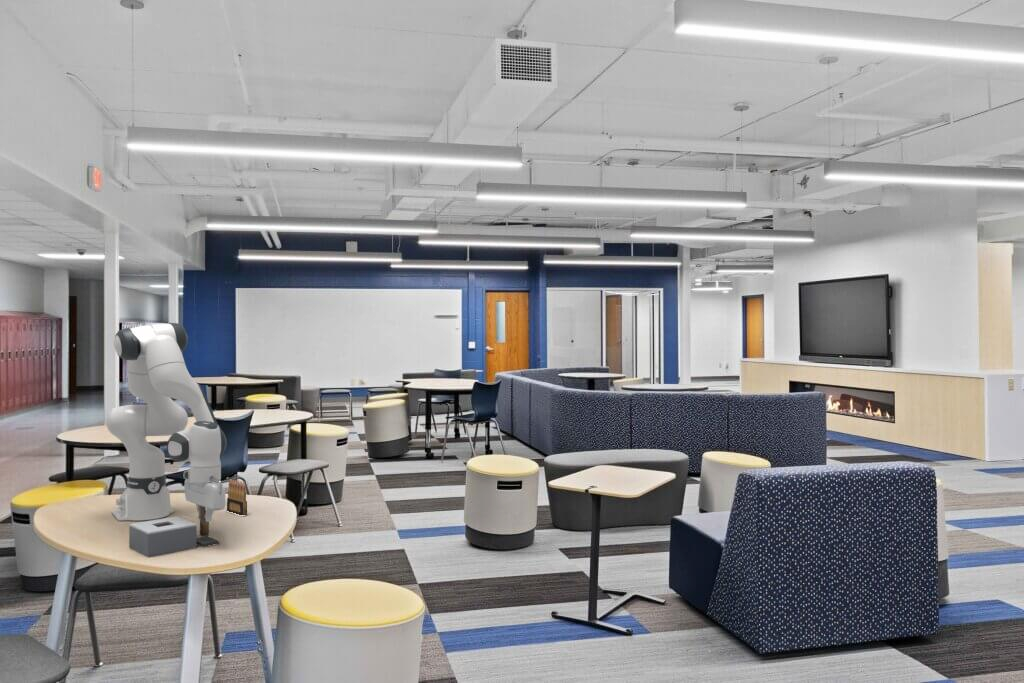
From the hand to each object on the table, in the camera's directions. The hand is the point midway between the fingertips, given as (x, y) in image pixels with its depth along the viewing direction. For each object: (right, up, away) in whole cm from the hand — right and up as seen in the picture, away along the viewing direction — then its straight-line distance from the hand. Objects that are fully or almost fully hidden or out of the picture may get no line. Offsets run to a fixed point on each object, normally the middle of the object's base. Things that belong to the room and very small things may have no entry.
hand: (204, 520), depth 229 cm
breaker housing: (-10, -7, -5) cm, 14 cm away
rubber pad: (0, -7, 0) cm, 7 cm away
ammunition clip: (-4, -7, +38) cm, 39 cm away
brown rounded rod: (0, -5, 0) cm, 5 cm away
